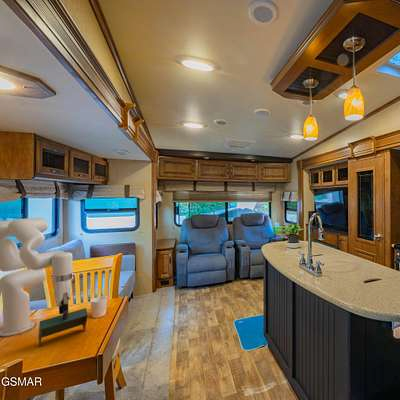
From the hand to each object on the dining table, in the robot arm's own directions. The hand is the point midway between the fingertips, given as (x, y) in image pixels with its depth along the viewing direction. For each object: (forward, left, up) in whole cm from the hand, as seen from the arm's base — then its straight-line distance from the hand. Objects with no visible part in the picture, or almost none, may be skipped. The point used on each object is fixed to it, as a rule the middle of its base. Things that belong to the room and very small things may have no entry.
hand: (63, 312), depth 124 cm
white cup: (-17, +18, -14) cm, 28 cm away
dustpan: (-4, 0, -13) cm, 14 cm away
